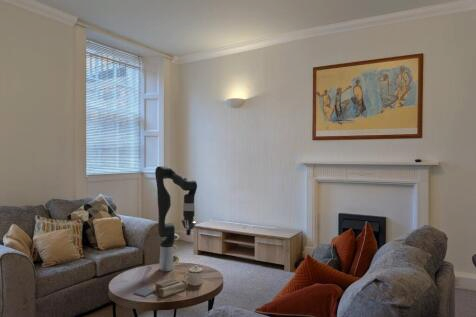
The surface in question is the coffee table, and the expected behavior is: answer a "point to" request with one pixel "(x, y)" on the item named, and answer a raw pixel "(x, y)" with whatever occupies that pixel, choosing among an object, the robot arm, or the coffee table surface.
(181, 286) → the cream long bar
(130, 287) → the coffee table surface
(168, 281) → the tan rectangular block
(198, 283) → the teacup with lid
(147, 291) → the slate coaster
